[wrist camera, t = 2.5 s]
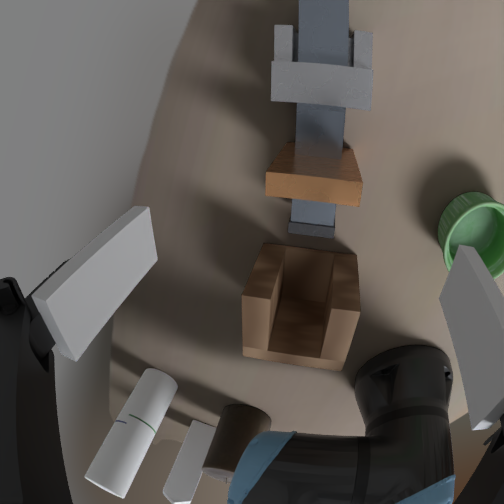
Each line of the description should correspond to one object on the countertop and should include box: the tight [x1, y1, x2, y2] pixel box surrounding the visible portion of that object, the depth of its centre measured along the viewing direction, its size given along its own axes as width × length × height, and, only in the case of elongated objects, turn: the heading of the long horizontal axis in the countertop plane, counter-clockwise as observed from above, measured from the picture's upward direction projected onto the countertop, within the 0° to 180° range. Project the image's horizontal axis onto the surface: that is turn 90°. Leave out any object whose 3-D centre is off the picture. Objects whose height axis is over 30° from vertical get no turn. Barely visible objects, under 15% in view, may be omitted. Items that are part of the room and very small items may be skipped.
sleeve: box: [271, 25, 373, 111], centre depth 20 cm, size 7×6×6 cm
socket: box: [242, 243, 361, 371], centre depth 31 cm, size 10×8×9 cm
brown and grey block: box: [265, 0, 363, 238], centre depth 21 cm, size 6×20×10 cm, turn 0°
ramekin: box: [438, 192, 504, 279], centre depth 25 cm, size 9×9×4 cm
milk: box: [163, 419, 216, 504], centre depth 53 cm, size 6×6×22 cm
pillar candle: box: [202, 404, 271, 484], centre depth 48 cm, size 10×10×15 cm
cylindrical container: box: [85, 368, 178, 499], centre depth 44 cm, size 7×7×25 cm
